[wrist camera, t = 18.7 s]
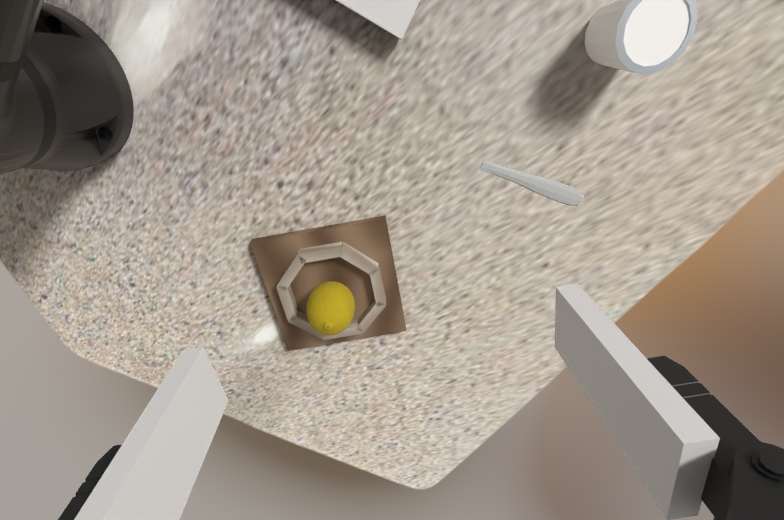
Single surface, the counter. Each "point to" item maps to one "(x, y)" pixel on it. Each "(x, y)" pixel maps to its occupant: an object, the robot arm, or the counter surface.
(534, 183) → the butter knife
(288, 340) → the lemon holder
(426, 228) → the counter surface
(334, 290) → the lemon
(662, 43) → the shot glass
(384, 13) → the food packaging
